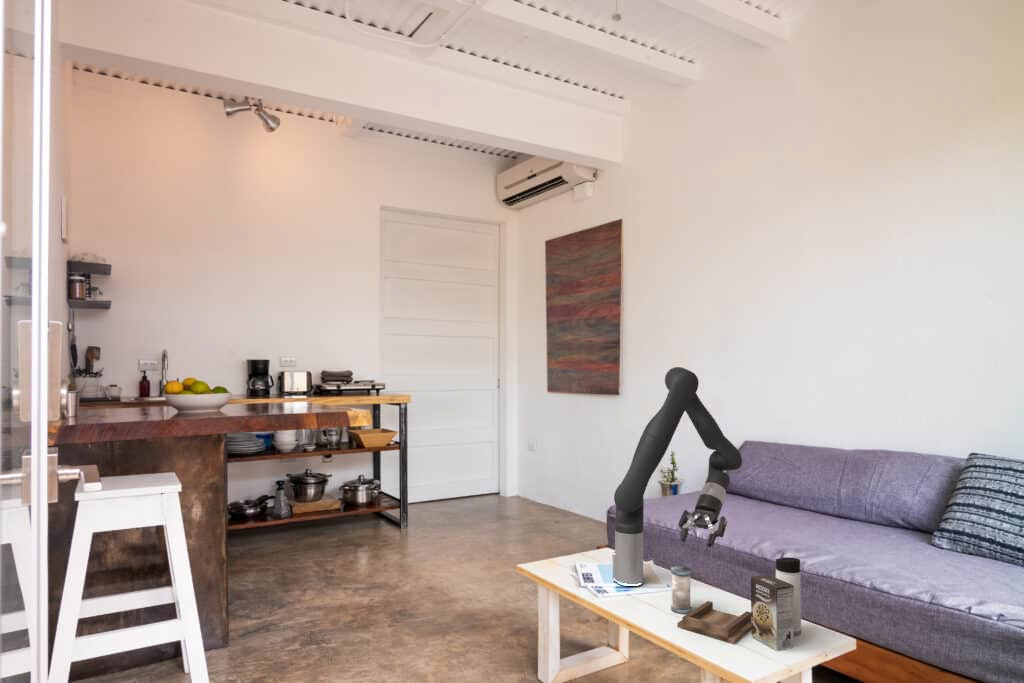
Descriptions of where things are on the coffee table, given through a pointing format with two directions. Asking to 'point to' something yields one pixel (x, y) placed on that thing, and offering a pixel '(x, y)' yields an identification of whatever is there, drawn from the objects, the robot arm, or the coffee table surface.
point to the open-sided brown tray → (716, 623)
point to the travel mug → (791, 574)
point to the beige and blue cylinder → (681, 589)
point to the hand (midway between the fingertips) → (695, 543)
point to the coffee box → (772, 612)
